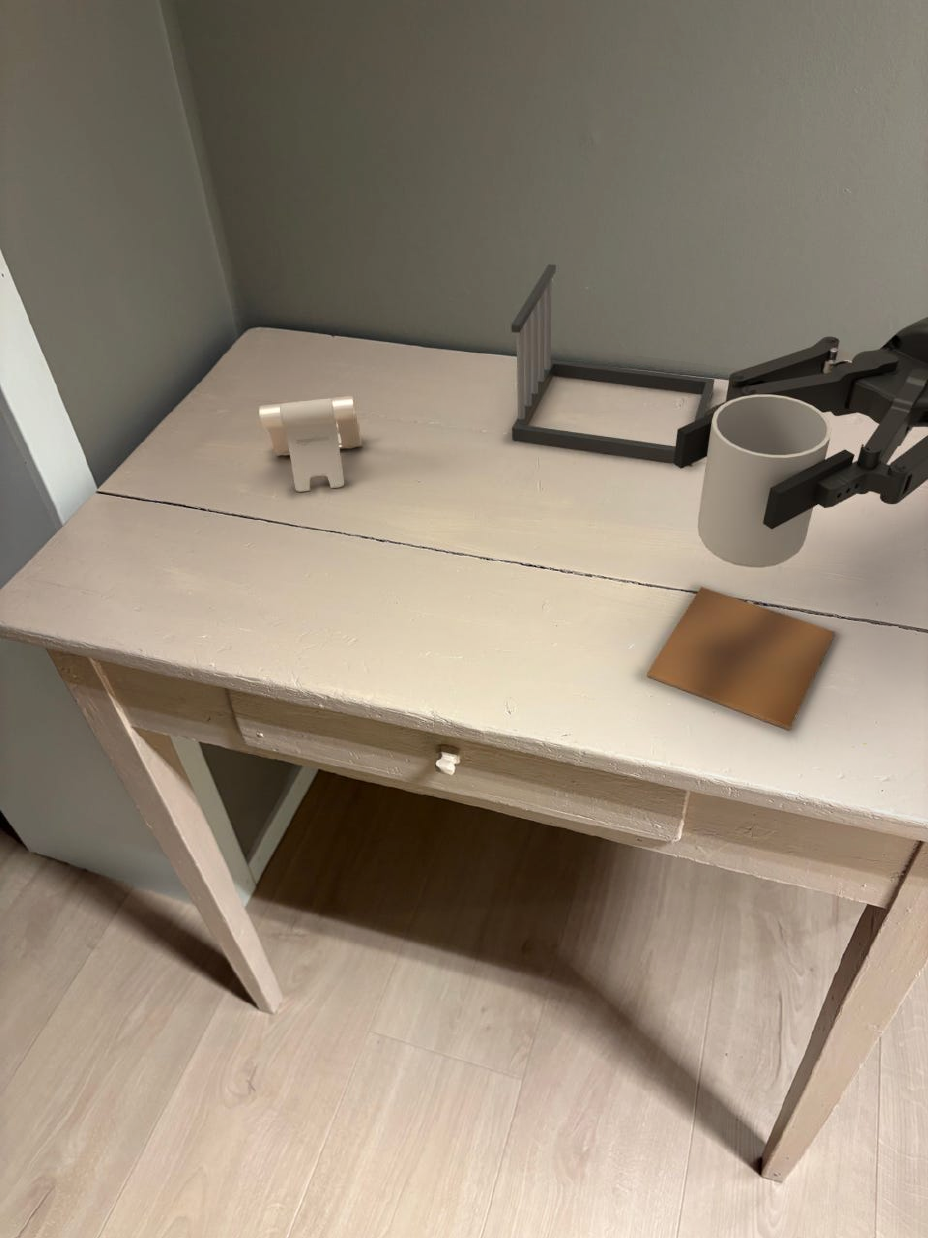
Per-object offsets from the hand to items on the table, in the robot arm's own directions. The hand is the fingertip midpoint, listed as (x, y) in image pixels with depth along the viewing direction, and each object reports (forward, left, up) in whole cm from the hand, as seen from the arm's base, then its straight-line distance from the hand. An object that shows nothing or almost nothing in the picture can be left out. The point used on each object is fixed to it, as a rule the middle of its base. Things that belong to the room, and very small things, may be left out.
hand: (723, 477), depth 60 cm
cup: (-1, -5, -7) cm, 8 cm away
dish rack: (+20, -30, -18) cm, 41 cm away
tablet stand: (+42, -9, -19) cm, 47 cm away
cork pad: (-3, -4, -18) cm, 19 cm away
